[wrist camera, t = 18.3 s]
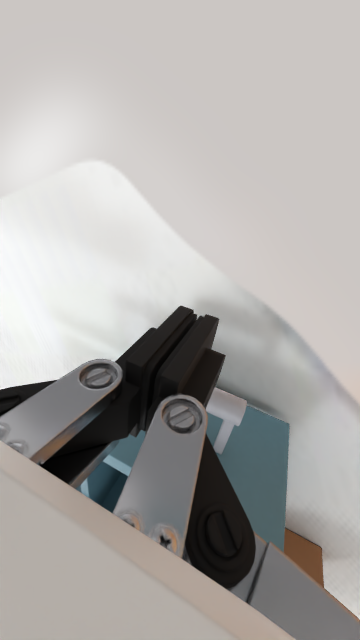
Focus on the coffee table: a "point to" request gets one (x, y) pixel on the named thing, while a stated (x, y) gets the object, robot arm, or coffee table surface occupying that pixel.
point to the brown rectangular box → (304, 555)
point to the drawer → (235, 456)
